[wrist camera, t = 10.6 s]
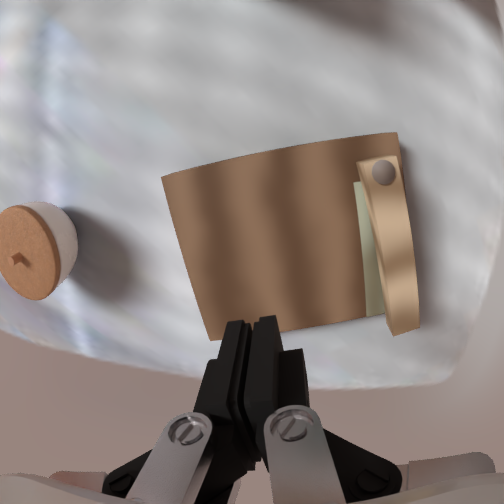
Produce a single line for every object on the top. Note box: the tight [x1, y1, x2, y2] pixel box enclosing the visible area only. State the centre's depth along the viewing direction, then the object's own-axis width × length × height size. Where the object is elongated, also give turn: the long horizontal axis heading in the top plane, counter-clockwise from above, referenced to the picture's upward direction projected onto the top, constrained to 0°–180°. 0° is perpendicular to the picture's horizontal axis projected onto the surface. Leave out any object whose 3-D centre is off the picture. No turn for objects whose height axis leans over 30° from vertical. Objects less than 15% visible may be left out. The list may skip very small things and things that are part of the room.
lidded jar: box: [0, 201, 78, 300], centre depth 30 cm, size 11×11×9 cm
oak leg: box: [356, 154, 420, 336], centre depth 27 cm, size 17×3×3 cm, turn 18°
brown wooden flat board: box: [161, 132, 406, 341], centre depth 30 cm, size 22×18×3 cm
